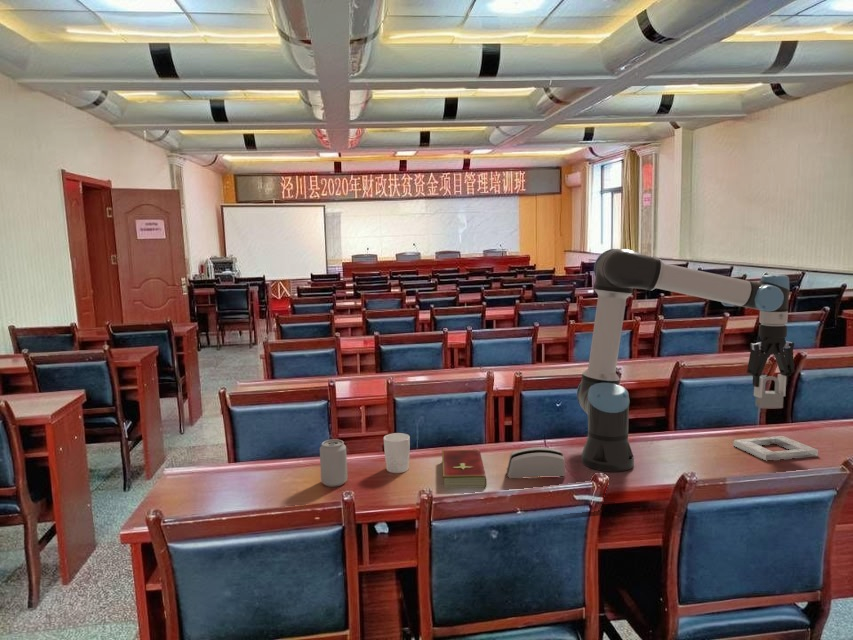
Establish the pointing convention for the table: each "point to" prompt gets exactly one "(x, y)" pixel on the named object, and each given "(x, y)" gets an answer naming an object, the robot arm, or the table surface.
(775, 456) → the holed plate
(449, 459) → the hardcover book
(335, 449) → the can
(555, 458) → the napkin holder
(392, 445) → the white cup
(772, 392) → the padlock
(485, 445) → the table surface
